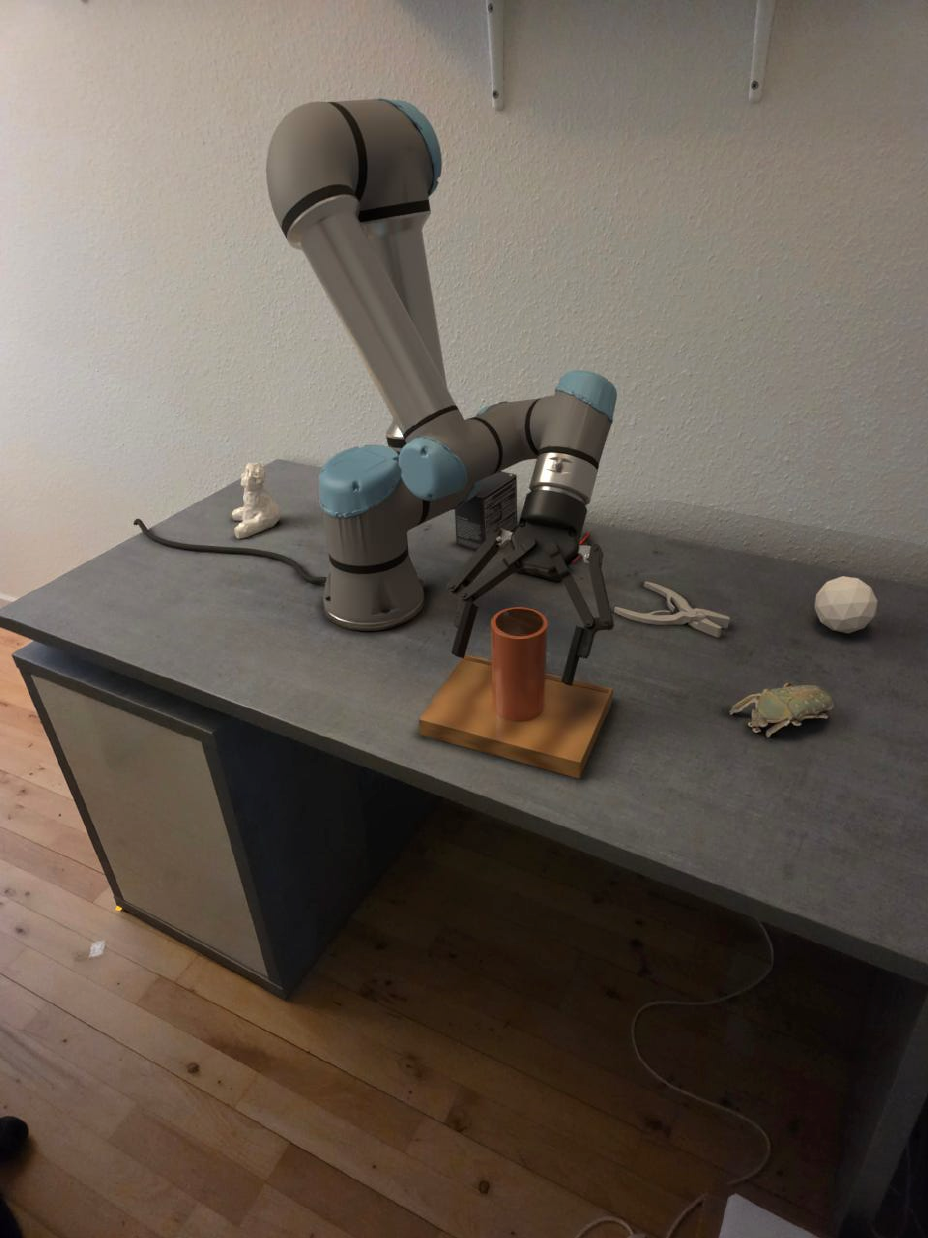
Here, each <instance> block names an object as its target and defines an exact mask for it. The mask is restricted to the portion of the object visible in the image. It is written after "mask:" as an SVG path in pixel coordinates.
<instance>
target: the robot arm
mask: <svg viewBox="0 0 928 1238" xmlns="http://www.w3.org/2000/svg"><path fill="white" fill-rule="evenodd" d="M265 162H266V164H265V174H266V175H265V177H266V186H267V193H268V197H269V201H270V205H271V208H272V211H273V214H274V217H275V219H276V221H277V224H278V226H279V228H280V229H281V231H282V233H283V236H284V237H285V239H286V241H287V242H288V245H289V246H290V247H291V248H293V249H296V250H299V251H302V253H303V254H304V256H305V258H306V259H307V262H308V263H309V265H310V267H311V269H312V271H313V273H314V275H315V276H316V278H317V280H318V282H319V284H320V286H321V287H322V289H323V291H324V293H325V295H326V297H327V298H328V300H329V302H330V304H331V306H332V308H333V310H334V312H335V313H336V315H337V317H338V319H339V321H340V322H341V324H342V326H343V328H344V330H345V333H346V334H347V336H348V338H349V339H350V341H351V343H352V345H353V346H354V348H355V350H356V353H357V354H358V356H359V357H360V360H361V362H362V363H363V365H364V367H365V369H366V371H367V373H368V374H369V376H370V378H371V380H372V382H373V383H374V385H375V387H376V389H377V391H378V393H379V395H380V396H381V398H382V400H383V402H384V404H385V405H386V407H387V409H388V412H389V413H390V415H391V418H392V421H391V422H390V424H389V425H388V427H387V428H386V429H385V438H386V443H387V444H386V445H384V444H364V445H363V446H361V447H360V446H352V447H349V448H347V449H344V450H342V451H339V452H338V453H336V454H335V455H333V456H332V457H330V458H329V459H328V460H327V461H326V462H325V463H324V464H323V466H322V468H321V469H320V471H319V476H318V487H319V488H318V489H319V490H318V491H319V494H318V495H319V496H318V499H319V500H318V501H319V505H320V508H321V512H322V513H321V514H322V520H323V526H324V533H325V539H326V540H325V541H326V547H327V553H328V561H329V565H328V570H327V575H326V576H311V575H309V574H307V573H306V572H305V571H304V569H303V568H302V567H301V565H300V564H299V563H297V562H296V561H295V560H294V559H292V558H289V557H288V556H285V555H282V554H279V553H277V552H272V551H267V550H263V549H256V548H248V547H236V546H235V547H234V546H233V547H232V546H218V545H205V544H190V543H183V542H177V541H173V540H169V539H165V538H162V537H159V536H157V535H155V534H153V533H152V532H151V531H150V530H149V529H148V527H146V525H145V523H144V521H143V520H142V519H140V518H136V519H134V521H133V525H134V526H139V528H140V530H141V532H142V533H143V534H144V535H145V536H146V537H147V538H149V539H150V540H152V541H155V542H156V543H159V544H162V545H163V546H168V547H172V548H176V549H177V548H178V549H182V550H188V551H189V550H190V551H200V552H201V551H203V552H217V553H218V552H219V553H230V554H231V553H232V554H233V553H234V554H246V555H247V554H248V555H253V556H260V557H264V558H265V557H266V558H271V559H275V560H278V561H281V562H283V563H286V564H288V565H290V566H291V567H292V568H294V570H295V571H296V572H297V573H298V575H299V576H300V577H301V578H302V579H304V580H305V581H307V582H309V583H312V584H318V583H319V584H320V583H321V584H323V583H324V589H323V594H322V605H323V610H324V614H325V616H326V618H328V620H329V621H331V623H333V624H335V625H337V626H339V627H341V628H344V629H346V630H352V631H359V632H360V631H361V632H373V631H376V632H377V631H383V630H387V629H392V628H395V627H398V626H400V625H403V624H406V623H407V622H409V621H411V620H412V619H414V618H415V617H416V616H417V615H419V613H420V612H421V611H422V609H423V607H424V604H425V591H424V587H426V582H425V580H423V579H421V578H419V575H418V572H417V570H416V567H415V566H414V563H413V561H412V559H411V557H410V554H409V540H408V532H409V531H411V530H412V529H414V528H416V527H418V526H420V525H422V524H424V523H427V522H428V521H431V520H433V519H435V518H437V517H439V516H441V515H443V514H446V513H448V512H450V511H453V510H455V509H456V508H458V507H460V506H461V505H462V504H464V503H465V502H466V501H468V500H470V499H471V498H473V497H474V496H475V495H476V494H477V492H478V491H479V490H480V488H481V486H482V484H483V482H484V478H486V477H488V476H491V475H494V474H496V473H498V472H500V471H502V472H503V471H504V470H507V469H508V468H510V467H513V466H515V465H518V464H519V463H521V462H524V461H528V460H529V461H530V460H536V461H535V464H534V468H533V471H532V474H531V479H530V482H529V486H528V488H529V492H528V493H527V494H526V496H525V499H524V503H523V506H522V510H521V513H520V516H519V520H518V523H517V524H518V527H517V529H516V530H515V531H514V532H510V531H507V530H504V529H501V528H500V527H499V526H498V525H496V524H495V525H492V526H491V528H490V530H489V533H488V535H487V538H486V540H485V541H484V543H483V544H482V545H481V546H480V547H479V548H478V550H477V551H476V550H475V552H474V553H473V554H472V555H471V557H469V559H468V560H467V561H466V562H465V563H464V564H463V566H462V567H461V568H460V569H459V571H457V572H456V574H455V575H454V576H453V578H451V580H450V581H449V582H448V583H447V585H446V589H447V590H448V592H450V593H451V594H452V595H454V597H457V601H458V602H457V606H456V608H455V612H454V615H453V619H452V625H453V626H454V627H455V628H457V631H456V634H455V638H454V642H453V644H452V648H451V654H452V655H454V656H455V657H457V658H461V659H462V658H464V656H465V654H466V652H467V650H468V649H467V648H468V645H469V643H470V638H471V635H472V630H473V628H474V624H475V620H476V617H477V613H478V611H479V606H478V605H477V604H475V602H476V601H477V600H479V599H480V598H482V597H484V595H486V594H487V593H489V592H490V591H491V590H492V589H494V588H495V587H497V586H498V585H500V584H501V583H503V582H504V581H505V580H506V579H508V578H509V577H510V576H511V575H513V574H516V573H519V570H521V569H522V568H523V569H524V570H526V571H527V572H529V573H541V574H543V575H545V576H549V577H552V576H554V575H557V574H559V576H560V577H561V579H560V580H561V582H562V583H563V585H564V587H565V590H566V592H567V593H568V595H569V597H570V600H571V602H572V604H573V606H574V608H575V609H576V612H577V613H578V616H579V618H580V620H581V622H582V624H583V626H579V625H575V629H574V632H573V636H572V639H571V644H570V646H569V647H570V648H569V650H568V655H567V658H566V662H565V666H564V670H563V673H562V676H561V677H562V682H563V683H564V684H566V685H570V686H572V684H573V680H575V676H576V672H577V668H578V664H579V661H580V659H585V660H587V659H588V657H590V654H591V651H592V647H593V643H594V639H595V635H596V634H597V633H598V632H600V631H612V630H613V629H614V628H615V623H614V618H613V613H612V609H611V605H610V601H609V595H608V591H607V586H606V581H605V578H604V574H603V561H604V551H603V549H602V547H601V544H599V543H597V542H595V543H592V544H591V546H590V545H582V544H581V545H580V544H579V543H580V540H581V535H582V531H583V529H584V526H585V521H586V517H587V514H588V508H587V505H589V504H590V503H591V501H592V500H591V499H592V495H593V491H594V489H595V485H596V481H597V477H598V472H599V468H600V463H601V459H602V456H603V452H604V450H605V446H606V442H607V441H608V437H609V433H610V431H611V427H612V424H613V423H614V413H615V410H616V402H617V398H618V391H617V388H616V387H615V385H614V384H613V383H612V382H611V381H609V379H608V378H606V377H605V376H603V375H601V374H599V373H596V372H593V371H590V370H582V369H581V370H580V369H576V370H570V371H567V372H565V374H563V375H562V376H561V377H559V380H558V383H557V385H556V387H555V388H554V394H553V395H547V396H543V397H539V398H531V399H523V400H515V401H506V400H505V401H499V402H498V403H495V404H490V405H487V406H484V407H482V408H481V409H479V410H478V412H477V414H476V415H475V416H472V417H469V418H466V419H465V418H464V416H463V414H462V413H461V411H460V409H459V407H458V405H457V404H456V402H455V400H454V398H453V396H452V394H451V392H450V391H449V388H448V383H447V378H446V372H445V371H446V370H445V365H444V359H443V352H442V345H441V340H440V334H439V328H438V321H437V320H438V319H437V316H436V315H437V314H436V309H435V308H436V307H435V303H434V302H435V301H434V297H433V296H434V295H433V290H432V284H431V277H430V272H429V265H428V260H427V252H426V246H425V239H424V234H423V229H424V226H425V225H426V223H427V221H428V220H429V218H430V216H431V215H432V211H431V205H430V197H431V196H432V195H433V193H435V191H436V190H437V188H438V185H439V180H438V179H439V178H441V176H442V170H443V159H442V151H441V146H440V142H439V139H438V136H437V133H436V132H435V129H434V127H433V125H432V124H431V122H430V121H429V119H428V118H427V116H426V115H425V114H424V113H422V112H421V111H420V110H419V109H418V107H416V105H414V104H412V103H410V102H408V101H405V100H402V99H401V100H400V99H389V98H384V97H378V98H369V99H355V100H354V99H353V100H339V101H338V100H337V101H310V102H307V103H303V104H300V105H298V106H297V107H295V108H293V109H292V110H291V111H289V112H288V113H287V114H286V115H285V116H284V117H283V118H282V119H281V121H280V122H279V124H277V126H276V127H275V129H274V131H273V133H272V137H271V139H270V141H269V145H268V148H267V155H266V161H265ZM508 543H510V544H511V546H512V549H513V550H512V551H510V552H509V553H508V554H506V555H505V556H503V558H502V560H501V561H500V562H498V563H497V564H496V565H494V566H493V567H491V568H490V569H488V570H487V571H486V572H485V573H483V574H482V575H480V576H479V574H480V573H481V572H482V571H483V570H484V569H485V567H486V566H487V565H488V564H489V563H490V562H491V561H492V560H493V558H495V556H496V554H497V553H498V552H499V550H500V548H504V547H506V545H507V544H508ZM578 557H582V560H583V562H584V563H585V565H586V566H588V570H589V576H590V580H591V584H592V588H593V589H592V590H593V595H594V598H595V602H596V608H597V611H598V615H599V617H594V616H593V614H592V612H591V610H590V608H589V606H588V604H587V602H586V600H585V598H584V597H583V594H582V592H581V590H580V588H579V586H578V584H577V581H576V580H575V578H574V576H573V573H572V571H571V570H570V569H569V568H568V565H569V564H570V565H571V564H572V563H574V562H575V561H574V560H576V559H577V558H578ZM578 559H579V558H578ZM573 561H574V562H573ZM478 576H479V577H478ZM477 577H478V578H477Z"/></svg>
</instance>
